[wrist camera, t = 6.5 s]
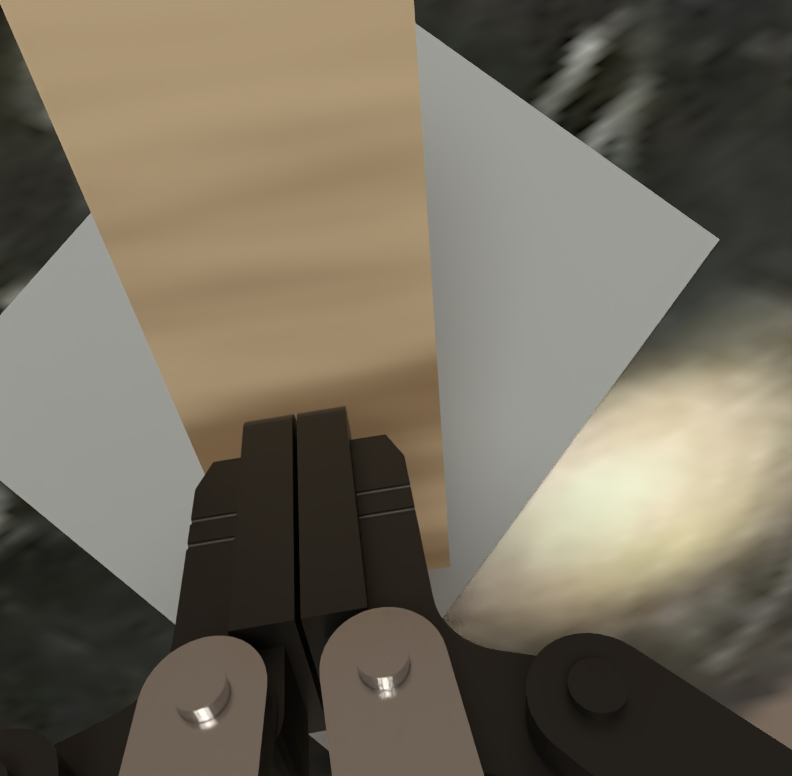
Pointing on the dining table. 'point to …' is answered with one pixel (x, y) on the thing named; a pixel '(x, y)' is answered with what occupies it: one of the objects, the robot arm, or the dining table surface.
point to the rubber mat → (454, 330)
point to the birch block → (260, 207)
